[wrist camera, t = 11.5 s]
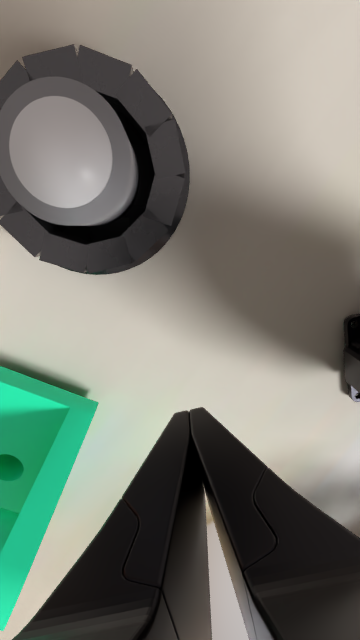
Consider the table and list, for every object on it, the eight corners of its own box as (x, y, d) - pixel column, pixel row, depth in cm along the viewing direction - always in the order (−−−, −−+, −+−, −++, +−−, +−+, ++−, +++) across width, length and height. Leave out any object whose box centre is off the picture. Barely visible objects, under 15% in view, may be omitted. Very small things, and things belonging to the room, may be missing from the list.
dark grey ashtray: (164, 41, 16) (164, 7, 14) (205, 251, 19) (210, 255, 17) (-38, 91, 16) (-74, 66, 14) (35, 290, 20) (16, 299, 17)
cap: (125, 109, 16) (107, 58, 11) (150, 214, 18) (143, 209, 13) (27, 133, 17) (-33, 92, 12) (60, 235, 18) (20, 238, 13)
